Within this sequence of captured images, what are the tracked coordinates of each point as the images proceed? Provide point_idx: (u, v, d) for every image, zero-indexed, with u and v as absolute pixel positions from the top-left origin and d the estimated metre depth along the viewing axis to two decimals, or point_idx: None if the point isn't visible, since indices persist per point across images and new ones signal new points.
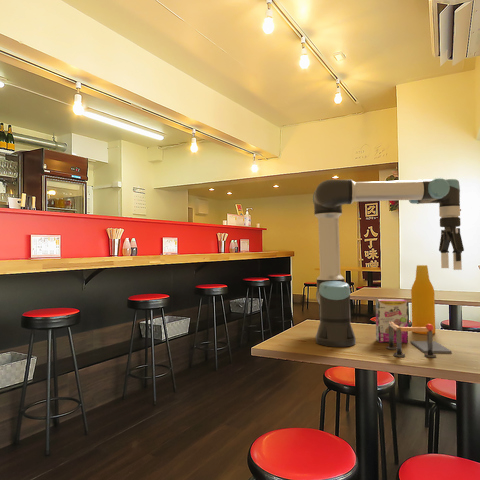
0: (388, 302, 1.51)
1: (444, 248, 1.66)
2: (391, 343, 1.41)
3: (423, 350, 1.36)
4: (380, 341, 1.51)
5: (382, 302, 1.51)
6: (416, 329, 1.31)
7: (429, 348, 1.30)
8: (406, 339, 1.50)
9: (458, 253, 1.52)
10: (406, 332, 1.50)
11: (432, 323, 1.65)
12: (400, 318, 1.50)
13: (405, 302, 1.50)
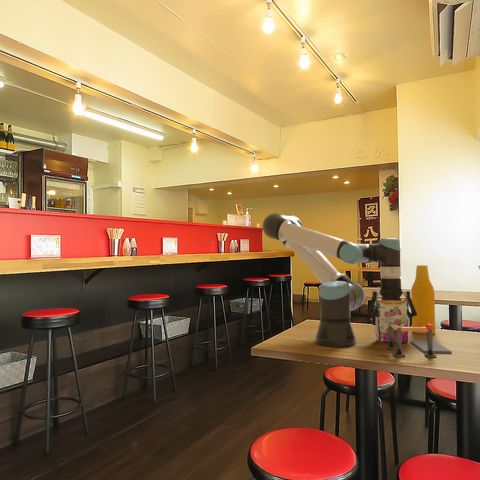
0: (388, 302, 1.51)
1: None
2: (391, 343, 1.41)
3: (423, 350, 1.36)
4: (380, 341, 1.51)
5: (382, 302, 1.51)
6: (416, 329, 1.31)
7: (429, 348, 1.30)
8: (406, 339, 1.50)
9: None
10: (406, 332, 1.50)
11: (432, 323, 1.65)
12: (400, 318, 1.50)
13: (405, 302, 1.50)
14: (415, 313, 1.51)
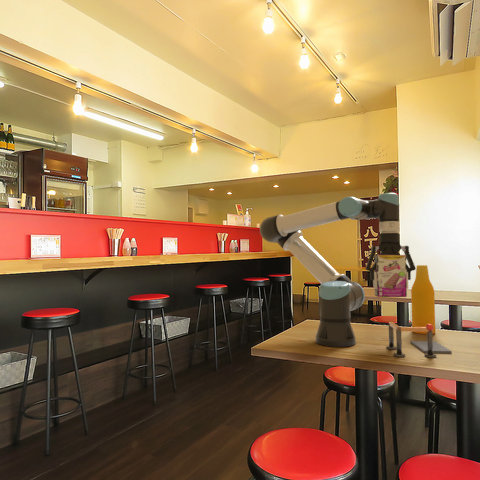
0: (387, 256, 1.51)
1: None
2: (391, 343, 1.41)
3: (423, 350, 1.36)
4: (379, 295, 1.52)
5: (381, 256, 1.52)
6: (416, 329, 1.31)
7: (429, 348, 1.30)
8: (404, 293, 1.51)
9: (370, 272, 1.55)
10: (405, 286, 1.51)
11: (432, 323, 1.65)
12: (399, 272, 1.51)
13: (404, 256, 1.51)
14: (414, 267, 1.51)
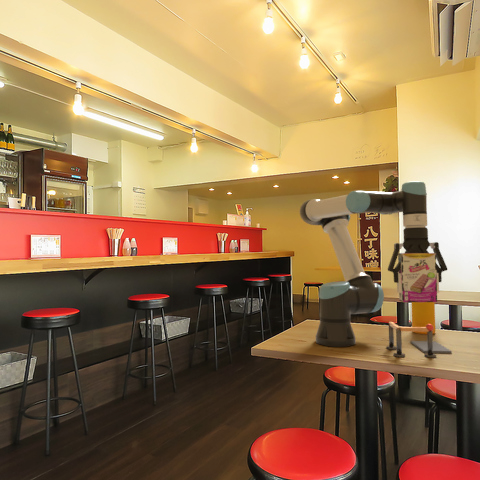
0: (413, 255, 1.30)
1: None
2: (391, 343, 1.41)
3: (423, 350, 1.36)
4: (404, 300, 1.30)
5: (406, 255, 1.30)
6: (416, 329, 1.31)
7: (429, 348, 1.30)
8: (435, 297, 1.29)
9: (393, 273, 1.33)
10: (435, 289, 1.29)
11: (432, 323, 1.65)
12: (427, 273, 1.29)
13: (433, 254, 1.29)
14: (445, 267, 1.29)
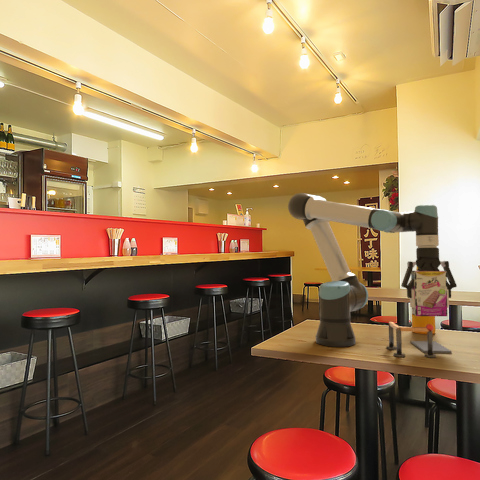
0: (426, 273, 1.41)
1: None
2: (391, 343, 1.41)
3: (423, 350, 1.36)
4: (417, 315, 1.41)
5: (419, 273, 1.41)
6: (416, 329, 1.31)
7: (429, 348, 1.30)
8: (445, 312, 1.40)
9: (407, 289, 1.44)
10: (445, 305, 1.40)
11: (432, 323, 1.65)
12: (439, 290, 1.40)
13: (444, 272, 1.40)
14: (454, 284, 1.41)
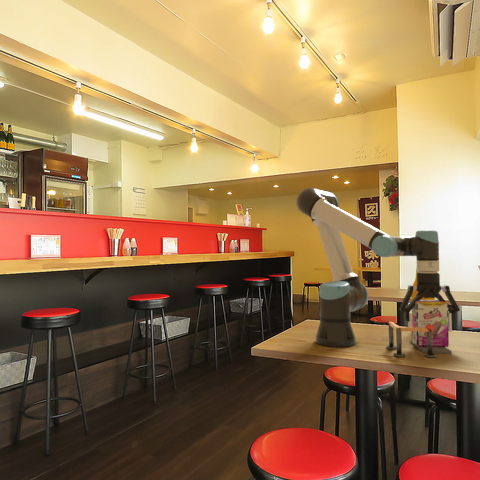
0: (427, 303, 1.41)
1: None
2: (391, 343, 1.41)
3: (423, 350, 1.36)
4: (418, 345, 1.41)
5: (421, 303, 1.41)
6: (416, 329, 1.31)
7: (429, 348, 1.30)
8: (446, 342, 1.40)
9: (405, 312, 1.44)
10: (447, 335, 1.40)
11: None
12: (440, 320, 1.40)
13: (445, 303, 1.40)
14: (457, 308, 1.40)
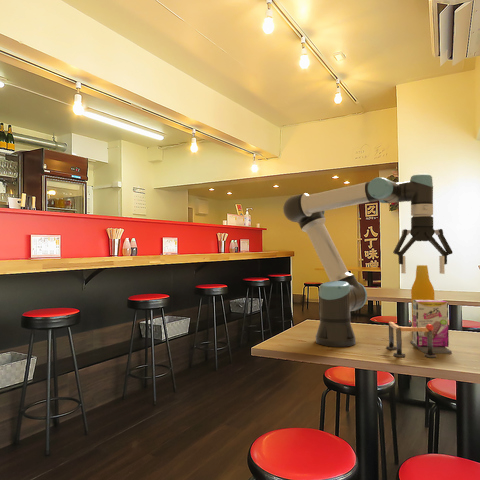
0: (427, 303, 1.41)
1: (438, 250, 1.45)
2: (391, 343, 1.41)
3: (423, 350, 1.36)
4: (418, 345, 1.41)
5: (421, 303, 1.41)
6: (416, 329, 1.31)
7: (429, 348, 1.30)
8: (446, 342, 1.40)
9: None
10: (447, 335, 1.40)
11: None
12: (440, 320, 1.40)
13: (445, 303, 1.40)
14: (450, 251, 1.43)
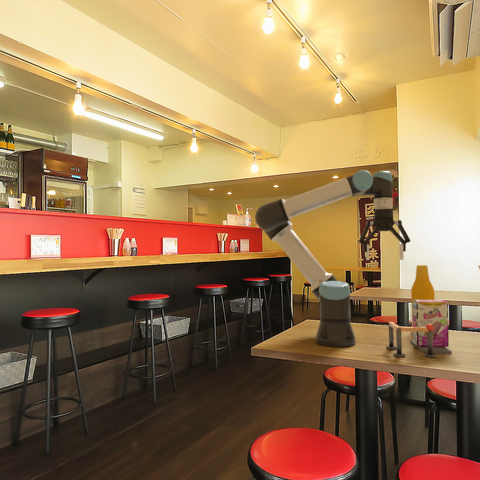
0: (427, 303, 1.41)
1: (398, 239, 1.62)
2: (391, 343, 1.41)
3: (423, 350, 1.36)
4: (418, 345, 1.41)
5: (421, 303, 1.41)
6: (416, 329, 1.31)
7: (429, 348, 1.30)
8: (446, 342, 1.40)
9: (363, 244, 1.64)
10: (447, 335, 1.40)
11: None
12: (440, 320, 1.40)
13: (445, 303, 1.40)
14: (408, 239, 1.60)
